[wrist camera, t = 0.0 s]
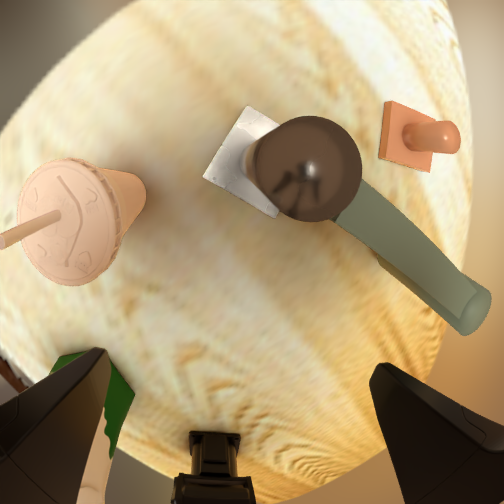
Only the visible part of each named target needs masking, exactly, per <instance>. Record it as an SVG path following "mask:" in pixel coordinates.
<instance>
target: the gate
mask: <svg viewBox="0 0 504 504" xmlns="http://www.w3.org/2000/svg"><path fill="white" fill-rule="evenodd" d="M330 220H331V221H333V222H334V223H336V224H337V225H339V226H340V227H341V228H343V229H344V230H346V231H347V232H349V233H350V234H351V235H353V236H354V237H356V238H357V239H358V240H360V241H361V242H363V243H364V244H365V245H367V246H368V247H369V248H371V249H372V250H374V251H375V252H376V253H377V259H378V262H379V264H380V266H381V267H383V268H384V269H385V270H386V271H388V272H389V273H390V274H391V275H393V276H394V277H395V278H396V279H398V280H399V281H400V282H401V283H402V284H404V285H405V286H406V287H407V288H408V289H410V290H411V291H412V292H413V293H414V294H416V295H417V296H418V297H419V298H420V299H421V300H423V301H424V302H425V303H426V304H427V305H428V306H430V307H431V308H432V309H433V310H434V311H435V312H436V313H438V314H439V315H440V316H441V317H442V318H443V319H444V320H445V321H447V322H448V323H449V324H450V325H451V326H452V327H453V328H454V329H455V330H456V331H458V332H459V333H460V334H461V335H462V336H467V335H469V334H471V333H473V332H474V331H475V330H477V329H478V328H479V326H480V325H481V324H482V323H483V321H484V320H485V317H486V316H487V314H488V311H489V309H490V305H491V293H490V292H489V290H487V289H486V288H484V287H483V286H481V285H480V284H478V283H477V282H475V281H474V280H472V279H471V278H469V277H467V276H466V275H464V274H463V273H461V272H460V271H459V270H458V269H457V268H456V267H455V265H454V264H453V263H452V262H451V261H450V260H449V259H448V258H447V257H446V256H445V255H444V254H443V253H442V252H441V251H440V249H439V248H438V247H437V246H436V245H435V244H434V243H433V242H432V241H431V240H430V239H429V238H428V237H427V236H426V235H425V234H424V233H423V232H422V231H421V230H420V229H418V228H417V227H416V226H415V225H414V224H413V223H412V222H411V221H410V220H409V219H408V218H407V217H406V216H405V215H404V214H402V213H401V212H400V211H399V210H398V209H397V208H396V207H395V206H394V205H392V204H391V203H390V202H389V201H388V200H387V199H386V198H384V197H383V196H382V195H381V194H380V193H378V192H377V191H376V190H375V189H374V188H373V187H371V186H370V185H369V184H368V183H366V182H365V181H364V180H363V179H361V183H360V187H359V189H358V192H357V194H356V196H355V198H354V199H353V200H352V202H351V203H350V204H349V205H348V207H347V208H346V209H344V210H343V211H342V212H341V213H339V214H338V215H336V216H334V217H332V218H330Z"/></svg>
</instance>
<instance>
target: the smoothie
mask: <svg viewBox="0 0 504 504" xmlns="http://www.w3.org/2000/svg"><path fill="white" fill-rule="evenodd" d="M145 202H146V190H145V186H144V184H143V182H142V181H141V180H140V179H139V178H138V177H137V176H136V175H134V174H131V173H127V172H121V171H115V170H109V169H103V168H97V167H96V166H94V165H92V164H90V163H88V162H86V161H84V160H83V159H76V158H64V159H59V160H53V161H50V162H47V163H45V164H43V165H41V166H40V167H39V168H37V169H36V170H35V171H34V172H33V173H32V174H31V175H30V177H29V178H28V179H27V181H26V183H25V184H24V187H23V189H22V191H21V194H20V197H19V202H18V208H17V225H18V226H16V227H14V228H12V229H10V230H8V231H6V232H3V233H1V234H0V250H4V249H5V248H7V247H9V246H11V245H13V244H14V243H16V242H18V241H20V240H21V243H22V246H23V248H24V250H25V252H26V255H27V256H28V258H29V259H30V261H31V262H32V264H33V265H34V266H35V267H36V269H37V270H38V271H39V272H40V273H42V274H43V275H44V276H45V277H47V278H48V279H50V280H52V281H54V282H56V283H58V284H61V285H65V286H80V285H84V284H86V283H89V282H91V281H92V280H94V279H95V278H97V277H98V276H99V275H100V274H101V273H103V272H104V271H105V270H107V269H108V267H109V266H110V265H111V263H112V262H113V261H114V259H115V258H116V255H117V252H118V250H119V247H120V245H121V239H122V237H123V235H124V234H125V233H126V231H127V230H128V228H129V227H130V226H131V224H132V223H133V221H134V220H135V219H136V217H137V216H138V215H139V213H140V212H141V211H142V209H143V207H144V205H145Z"/></svg>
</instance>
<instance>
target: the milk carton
mask: <svg viewBox="0 0 504 504" xmlns="http://www.w3.org/2000/svg"><path fill="white" fill-rule="evenodd" d="M86 352H87V351H86ZM86 352H81V353H76V354H71V355H66V356H61V357H59V359H58V360H57V362H56V363H55V365H54V367H53V368H52V370H51V372H50V373H49V375H50V374H52V373H54V372H55V371H57V370H58V369H60V368H62V367H63V366H65V365H66V364H68V363H70V362H71V361H73V360H75V359H76V358H78V357H79V356H81V355H83V354H84V353H86ZM109 361H110V359H109ZM110 366H111V376H110V380H109V385H108V389H107V393H106V398H105V403H104V407H103V412H102V415H101V418H100V421H99V424H98V428H97V431H96V434H95V437H94V440H93V443H92V447H91V450H90V453H89V457H88V460H87V464H86V467H85V471H84V475H83V478H82V482H81V486H80V490H79V494H78V498H77V503H76V504H105V500H104V496H105V489H106V484H107V480H108V476H109V471H110V467H111V463H112V459H113V455H114V452H115V448H116V444H117V441H118V437H119V434H120V430H121V427H122V425H123V422H124V420H125V418H126V415H127V413H128V411H129V408H130V406H131V404H132V401H133V399H134V397H135V393H134V392H133V391H132V390H131V388H130V387H129V386H128V384H127V383H126V382H125V380H124V379H123V378H122V376H121V375H120V374H119V372H118V371H117V369H116V368H115V367H114V365H113V364H112V362H111V361H110ZM49 375H48V376H49Z"/></svg>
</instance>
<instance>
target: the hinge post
mask: <svg viewBox="0 0 504 504" xmlns="http://www.w3.org/2000/svg"><path fill="white" fill-rule="evenodd" d="M202 177H203V178H205V179H207V180H208V181H210V182H212V183H214V184H216V185H217V186H219V187H221V188H223V189H224V190H226V191H228V192H230V193H231V194H233V195H235V196H236V197H238V198H240V199H242V200H243V201H245V202H247V203H248V204H250V205H252V206H254V207H255V208H257V209H259V210H260V211H262V212H264V213H265V214H267V215H269V216H270V217H272V218H274V219H275V218H276V216H277V214H278V213H279V211H281V212H282V213H284V214H285V215H287V216H289V217H291V218H294V219H296V220H300V221H305V222H318V221H324V220H327V219H330V218H332V217H334V216H336V215H338V214H339V213H341V212H342V211H343V210H344V209H346V208H347V207H348V205H349V204H350V203H351V202H352V200H353V199H354V198H355V196H356V194H357V192H358V189H359V187H360V183H361V178H362V162H361V157H360V153H359V150H358V148H357V146H356V144H355V142H354V140H353V139H352V138H351V136H350V135H349V134H348V133H347V132H346V131H345V130H344V129H343V128H342V127H341V126H339V125H338V124H336V123H335V122H333V121H331V120H328V119H325V118H322V117H317V116H302V117H298V118H294V119H291V120H289V121H287V122H285V123H283V124H282V125H279V124H278V123H276V122H275V121H273V120H271V119H270V118H268V117H267V116H265V115H263V114H262V113H260V112H258V111H257V110H255V109H253V108H251V107H250V106H248V105H247V106H246V108H245V109H244V111H243V112H242V114H241V115H240V117H239V118H238V120H237V121H236V123H235V124H234V126H233V127H232V129H231V130H230V132H229V134H228V135H227V137H226V138H225V140H224V142H223V143H222V145H221V146H220V148H219V150H218V151H217V153H216V155H215V156H214V158H213V159H212V161H211V163H210V164H209V166H208V168H207V170H206V171H205V173H204V175H203V176H202Z"/></svg>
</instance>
